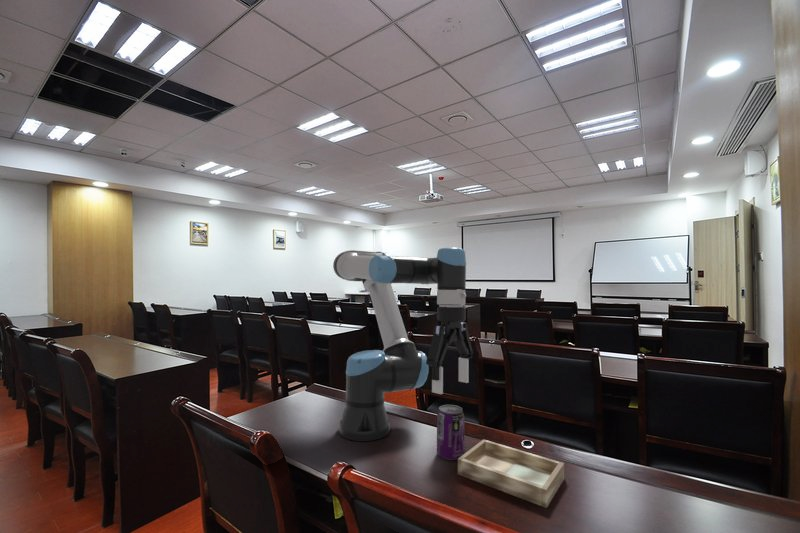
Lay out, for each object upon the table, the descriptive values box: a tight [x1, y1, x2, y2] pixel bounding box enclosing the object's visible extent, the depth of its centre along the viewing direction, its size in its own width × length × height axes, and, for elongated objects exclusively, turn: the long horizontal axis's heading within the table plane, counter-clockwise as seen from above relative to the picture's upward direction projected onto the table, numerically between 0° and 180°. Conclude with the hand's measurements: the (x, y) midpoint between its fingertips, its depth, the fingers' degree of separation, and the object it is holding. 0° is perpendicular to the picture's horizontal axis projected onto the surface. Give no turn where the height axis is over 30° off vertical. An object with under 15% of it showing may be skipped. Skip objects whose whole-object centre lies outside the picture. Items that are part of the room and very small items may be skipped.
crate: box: [457, 439, 565, 509], centre depth 82 cm, size 20×14×4 cm
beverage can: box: [436, 404, 465, 461], centre depth 93 cm, size 7×7×12 cm
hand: (451, 387), depth 93 cm, fingers open, 13 cm apart
